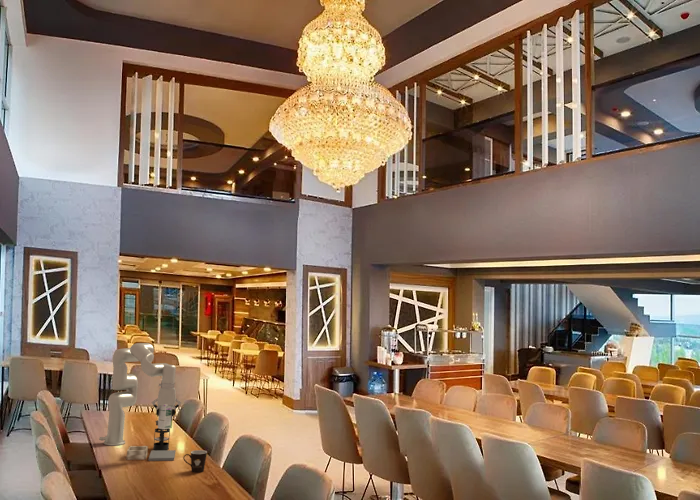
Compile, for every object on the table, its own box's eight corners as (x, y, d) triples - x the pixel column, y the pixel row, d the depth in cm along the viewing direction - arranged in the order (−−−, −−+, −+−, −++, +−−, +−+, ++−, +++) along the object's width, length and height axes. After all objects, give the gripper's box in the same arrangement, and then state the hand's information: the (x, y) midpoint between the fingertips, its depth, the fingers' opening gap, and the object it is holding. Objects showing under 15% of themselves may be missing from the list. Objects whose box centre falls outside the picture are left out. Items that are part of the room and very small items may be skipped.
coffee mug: (208, 470, 316) (210, 451, 317) (199, 474, 307) (201, 454, 309) (190, 467, 319) (192, 448, 320) (181, 471, 311) (182, 452, 312)
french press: (169, 450, 353) (172, 412, 355) (153, 451, 349) (156, 412, 352) (168, 446, 364) (170, 409, 366) (152, 447, 360) (155, 409, 363)
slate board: (148, 461, 328) (148, 458, 328) (151, 453, 346) (151, 450, 346) (174, 460, 332) (174, 457, 332) (175, 452, 349) (175, 450, 349)
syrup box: (164, 429, 336) (166, 404, 338) (157, 428, 339) (159, 403, 341) (171, 428, 341) (173, 403, 343) (164, 426, 344) (167, 402, 346)
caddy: (126, 459, 329) (127, 450, 330) (128, 455, 339) (129, 446, 340) (145, 459, 332) (146, 450, 332) (147, 454, 342) (147, 446, 342)
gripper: (151, 386, 337) (149, 417, 335) (182, 387, 341) (180, 417, 340) (152, 384, 344) (150, 414, 343) (183, 385, 349) (180, 415, 347)
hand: (165, 416), depth 341 cm, fingers closed on syrup box, 8 cm apart
